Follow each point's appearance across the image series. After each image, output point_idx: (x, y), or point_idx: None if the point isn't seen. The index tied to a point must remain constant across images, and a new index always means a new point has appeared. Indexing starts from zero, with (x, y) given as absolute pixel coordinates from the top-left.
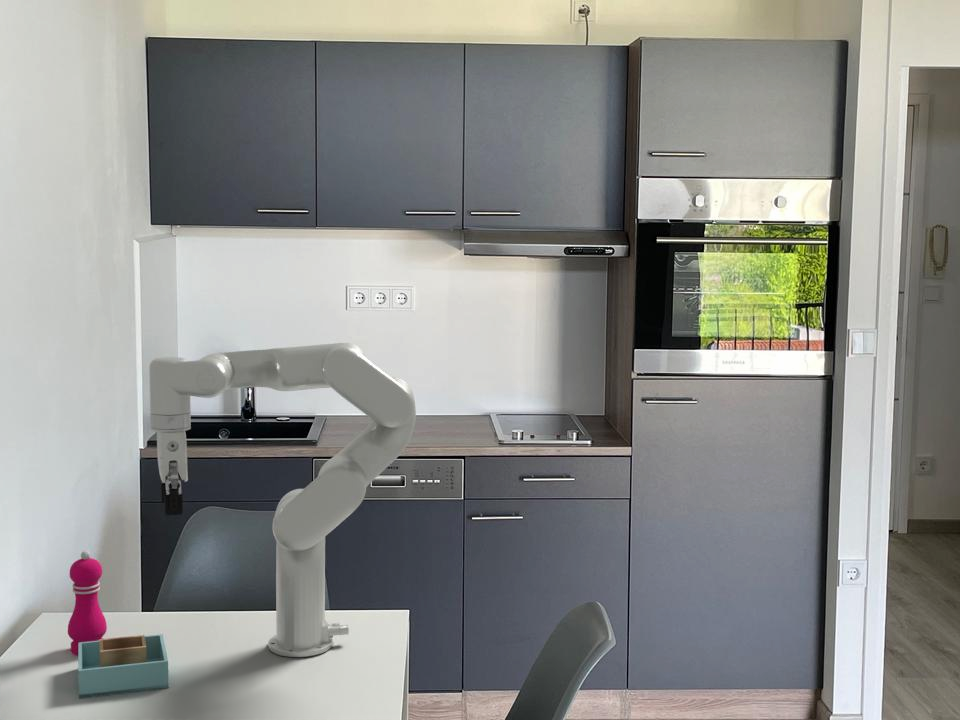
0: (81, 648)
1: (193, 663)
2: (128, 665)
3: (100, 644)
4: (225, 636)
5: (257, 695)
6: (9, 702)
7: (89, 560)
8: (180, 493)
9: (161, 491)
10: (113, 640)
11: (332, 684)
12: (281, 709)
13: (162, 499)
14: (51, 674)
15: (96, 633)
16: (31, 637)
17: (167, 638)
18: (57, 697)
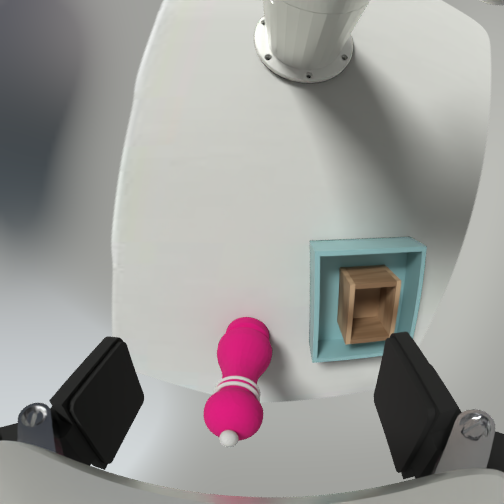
0: (336, 357)
1: (338, 197)
2: (420, 297)
3: (366, 341)
4: (232, 142)
5: (454, 133)
6: None
7: (237, 428)
8: (483, 417)
9: (121, 439)
10: (351, 326)
11: (435, 46)
12: (485, 120)
13: (138, 409)
14: (317, 366)
15: (268, 341)
16: (190, 385)
17: (222, 232)
18: None
